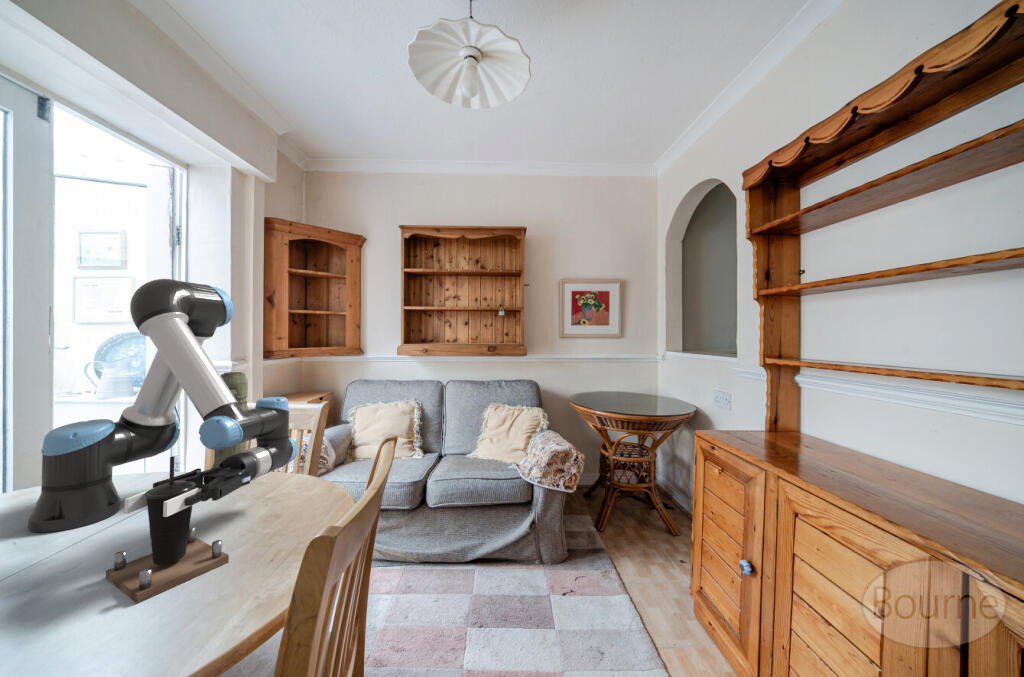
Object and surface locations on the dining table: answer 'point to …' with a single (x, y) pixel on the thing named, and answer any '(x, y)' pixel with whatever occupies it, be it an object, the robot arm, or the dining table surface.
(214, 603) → the dining table surface
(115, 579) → the peg board
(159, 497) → the drinking cup
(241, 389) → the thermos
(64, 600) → the dining table surface
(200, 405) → the robot arm
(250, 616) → the dining table surface
